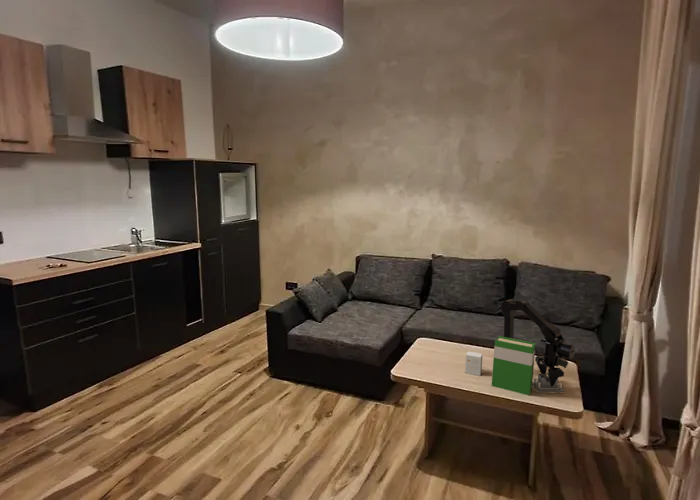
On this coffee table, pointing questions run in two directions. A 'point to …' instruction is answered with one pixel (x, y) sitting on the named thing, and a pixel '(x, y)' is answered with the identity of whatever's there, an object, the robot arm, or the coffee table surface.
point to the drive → (546, 381)
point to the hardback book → (513, 365)
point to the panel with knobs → (539, 389)
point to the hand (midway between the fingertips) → (547, 381)
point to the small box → (473, 363)
